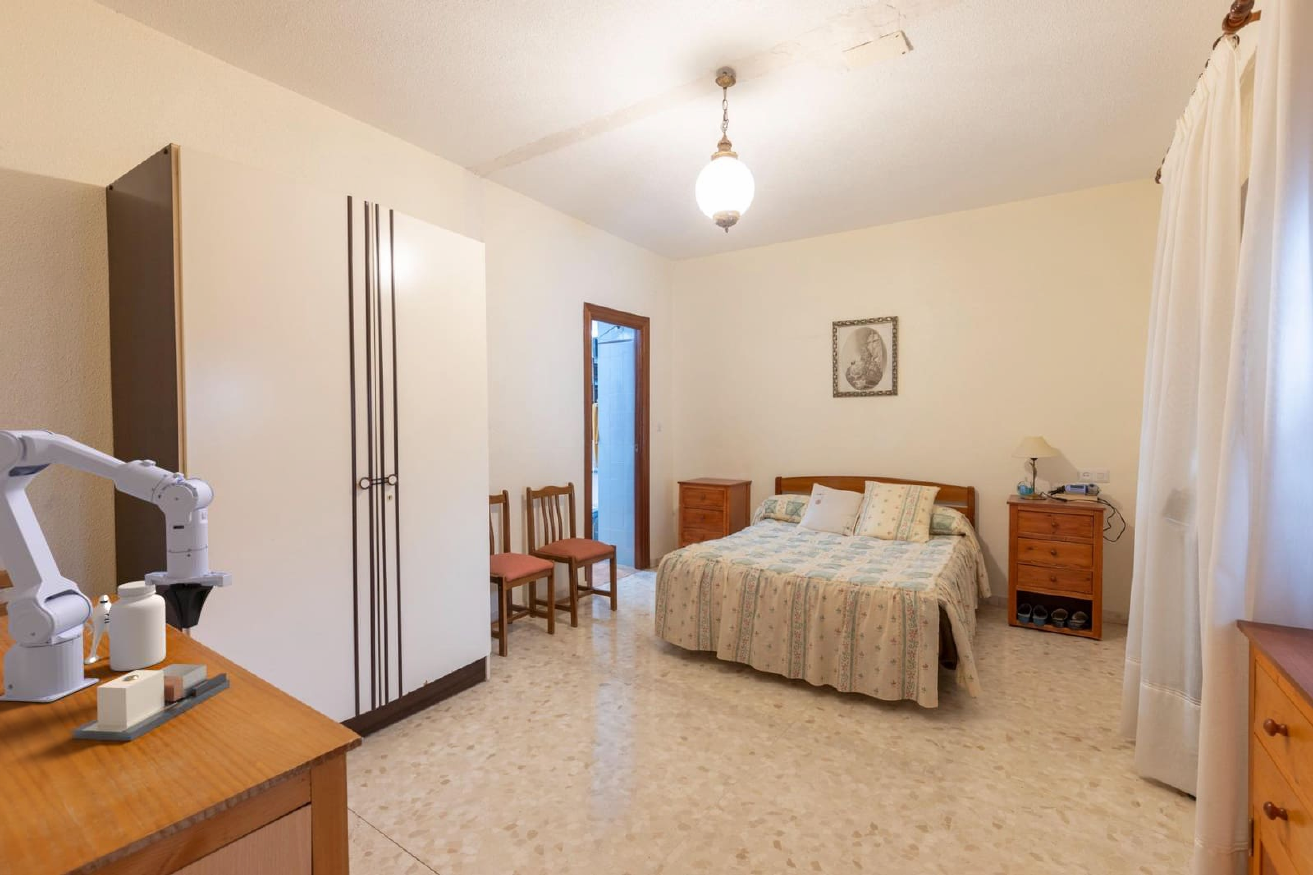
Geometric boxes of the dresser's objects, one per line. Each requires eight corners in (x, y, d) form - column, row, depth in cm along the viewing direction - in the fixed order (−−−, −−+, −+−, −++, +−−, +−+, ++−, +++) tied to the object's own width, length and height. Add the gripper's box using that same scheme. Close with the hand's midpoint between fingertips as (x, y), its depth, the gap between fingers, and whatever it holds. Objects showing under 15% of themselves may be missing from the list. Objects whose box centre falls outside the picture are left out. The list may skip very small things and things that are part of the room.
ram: (138, 701, 93) (138, 679, 93) (172, 684, 99) (172, 663, 99) (174, 702, 93) (173, 680, 93) (206, 685, 99) (206, 665, 99)
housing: (97, 724, 86) (96, 685, 86) (137, 705, 92) (136, 668, 92) (126, 725, 86) (125, 686, 86) (164, 706, 92) (163, 669, 92)
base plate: (72, 738, 85) (72, 721, 85) (180, 684, 102) (180, 671, 102) (131, 741, 84) (130, 724, 84) (229, 686, 102) (229, 672, 102)
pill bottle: (119, 676, 106) (117, 592, 106) (103, 666, 110) (101, 585, 110) (173, 660, 113) (171, 582, 113) (156, 652, 117) (154, 576, 117)
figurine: (78, 666, 111) (77, 601, 110) (80, 659, 114) (78, 597, 113) (130, 656, 115) (128, 594, 115) (130, 650, 118) (128, 590, 118)
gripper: (127, 553, 100) (129, 633, 101) (207, 554, 99) (209, 635, 100) (165, 544, 107) (166, 619, 108) (240, 545, 106) (242, 621, 107)
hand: (189, 626), depth 104 cm, fingers closed
